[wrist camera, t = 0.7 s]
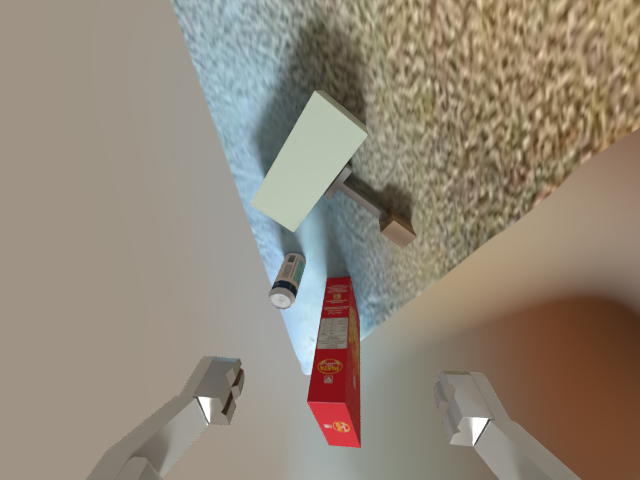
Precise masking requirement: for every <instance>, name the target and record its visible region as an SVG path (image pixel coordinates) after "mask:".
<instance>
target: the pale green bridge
mask: <svg viewBox="0 0 640 480" xmlns="http://www.w3.org/2000/svg"><path fill="white" fill-rule="evenodd" d="M367 136H368V132H367V127H366V125H364V124H363V123H362V122H361V121H360V120H358V119H357V118H356V117H355V116H354V115H352V114H351V113H350V112H349V111H348V110H346V109H345V108H344V107H343V106H342V105H340V104H339V103H338V102H337V101H336V100H334V99H333V98H332V97H331V96H330V95H328V94H327V93H326V92H325V91H324V90H317V91H314V93H313V94H312V96H311V98H310V100H309V101H308V103H307V105H306V107H305V108H304V110H303V112H302V114H301V115H300V117H299V119H298V121H297V122H296V124H295V126H294V128H293V129H292V131H291V133H290V135H289V137H288V138H287V140H286V142H285V144H284V145H283V147H282V149H281V151H280V152H279V154H278V156H277V158H276V159H275V161H274V163H273V165H272V166H271V168H270V170H269V172H268V173H267V175H266V177H265V179H264V180H263V182H262V184H261V186H260V187H259V189H258V191H257V193H256V195H255V196H254V198H253V200H252V202H251V203H250V205H252V206H253V207H255V208H256V209H258V210H259V211H261V212H263V213H264V214H266V215H267V216H269V217H270V218H272V219H273V220H275V221H276V222H278V223H279V224H281V225H283V226H284V227H286V228H287V229H289V230H290V231H292V232H293V233H294V231H295V230H296V229H297V227H298V226H299V225H300V223H301V222H302V221H303V220H304V218H305V217H306V216H307V214H308V213H309V212H310V210H311V209H312V208H313V206H314V205H315V204H316V202H317V201H318V200H319V199H320V197H321V196H322V195H323V193H324V192H325V191H326V189H327V188H328V187H329V185H330V184H331V183H332V181H333V180H334V179H335V178H336V176H337V175H338V174H339V172H340V171H341V170H342V168H343V167H344V166H345V164H346V163H347V162H348V160H349V159H350V158H351V157H352V155H353V154H354V153H355V151H356V150H357V149H358V147H359V146H360V145H361V143H362V142H363V141H364V139H365V138H366V137H367Z"/></svg>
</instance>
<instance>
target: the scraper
mask: <svg viewBox="0 0 640 480" xmlns="http://www.w3.org/2000/svg"><path fill="white" fill-rule="evenodd" d="M351 172H352V166H351V165H349V164H348V163H346V164H345V166H344V167H343V168H342V170H341V171H340V172H339V174H338V175H337V176H336V178H335V179H334V180H333V181H332V183H331V184H330V185H329V187H328V188H327V189H326V191H325V194H324V196H325V197H327V198H328V199H331V197H332V196H333V195H334V194H335V192H336V191H337V190H338V189H339V190H341V191H342V192H343V193H345V194H346V195H347V196H349V197H350V198H351V199H353V200H354V201H356V202H357V203H358V204H360V205H361V206H362V207H364V208H365V209H366V210H368V211H369V212H371V213H372V214H373V215H375V216H376V217H377V218H379V224H380V230H381V233H382V234H383V235H385V236H386V237H388V238H389V239H390V240H392V241H393V242H394V243H396V244H397V245H399V246H400V247H401V248H404V247H406V246H407V245H408V244H409V243H410V242H412V241H413V240H414V239H415V238H416V234H415V232H414V229H413V227H412V224H411V222H409V221H408V220H407V219H405V218H404V217H403V216H401V215H400V214H399V213H397V212H396V211H395V210H393V209H392V208H391V207H390V208H389V209H388V210H387V211H386V210H385V209H384V208H382V207H381V206H380V205H378V204H377V203H376V202H374V201H373V200H372V199H370V198H369V197H368V196H366V195H365V194H364V193H362V192H361V191H360V190H358V189H357V188H356V187H354V186H353V185H352V184H350V183H349V182H348V181H346V179H347V177H348V176H349V175H350V173H351Z"/></svg>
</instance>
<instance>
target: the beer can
mask: <svg viewBox="0 0 640 480" xmlns="http://www.w3.org/2000/svg"><path fill="white" fill-rule="evenodd" d="M305 265H306V261H305V258H304V257H303V256H302V255H300V254H298V253H289V254H287V255H286V256H285V258H284V261H283V264H282V266H281V268H280V271H279V273H278V275H277V278H276V280H275V282H274V285H273V287H272V289H271V291H270V293H269V299H270V302H271V304H272V305H273V306H274V307H276V308H279V309H287V308H289V307H290V306H291V305H293V303H294V302H295V298H296V295H297V292H298V288H299V285H300V282H301V278H302V275H303V271H304V268H305Z"/></svg>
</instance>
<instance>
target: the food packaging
mask: <svg viewBox="0 0 640 480" xmlns="http://www.w3.org/2000/svg"><path fill="white" fill-rule="evenodd" d="M307 403H308V405H309V407H310V409H311V411H312V412H313V415H314V417H315V418H316V420H317V422H318V424H319V426H320V428H321V430H322V432H323V434H324V436H325V438H326V440H327V442H328V444H329V445H333V446H345V447H357V448H360V447H361V441H360V440H361V439H360V321H359V316H358V311H357V306H356V301H355V297H354V292H353V287H352V282H351V277H341V278H329V279H327V282H326V288H325V294H324V300H323V306H322V312H321V319H320V325H319V331H318V337H317V343H316V349H315V356H314V362H313V368H312V374H311V380H310V386H309V393H308V399H307Z"/></svg>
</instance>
